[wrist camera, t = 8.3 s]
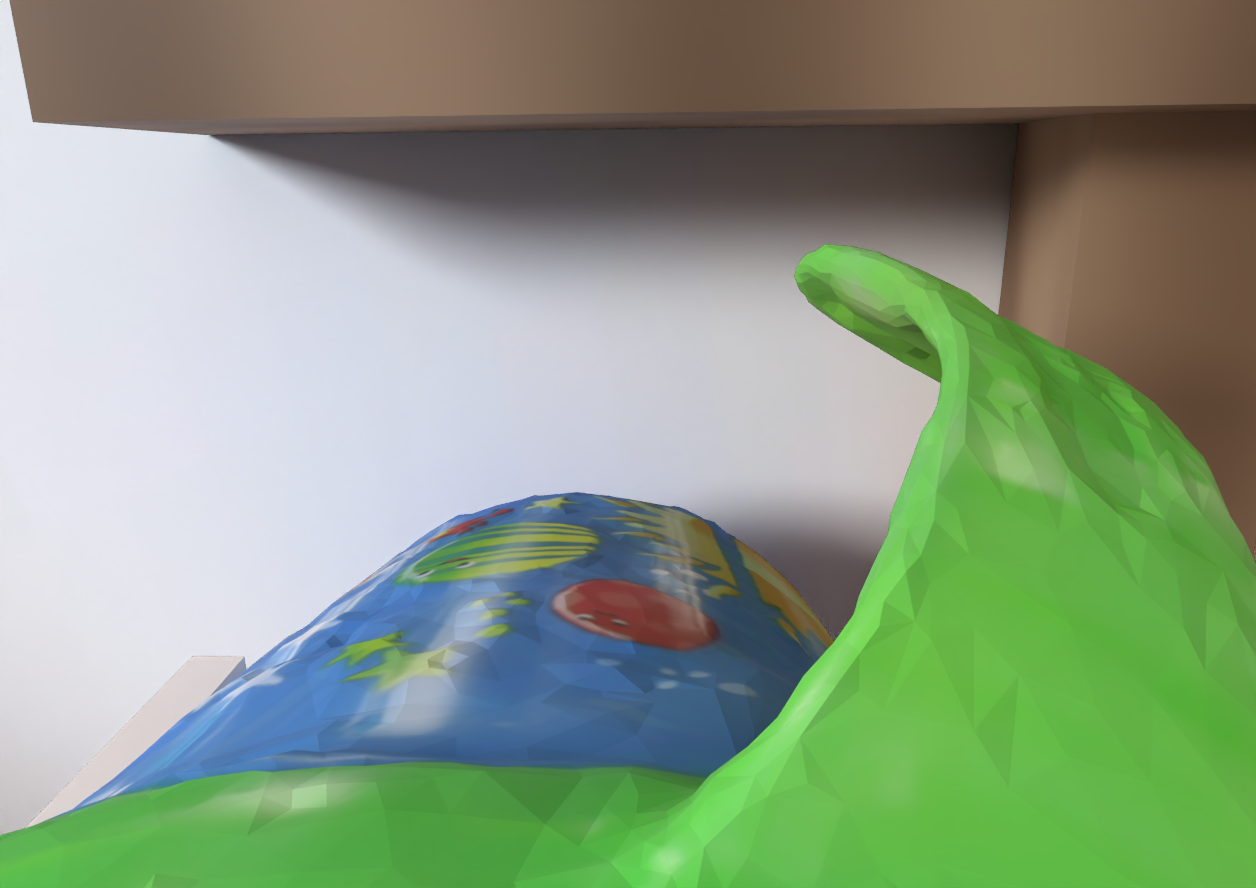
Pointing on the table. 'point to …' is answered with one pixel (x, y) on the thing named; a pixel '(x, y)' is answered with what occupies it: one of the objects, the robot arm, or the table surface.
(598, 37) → the bracket
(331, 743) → the snack cup
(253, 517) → the table surface
